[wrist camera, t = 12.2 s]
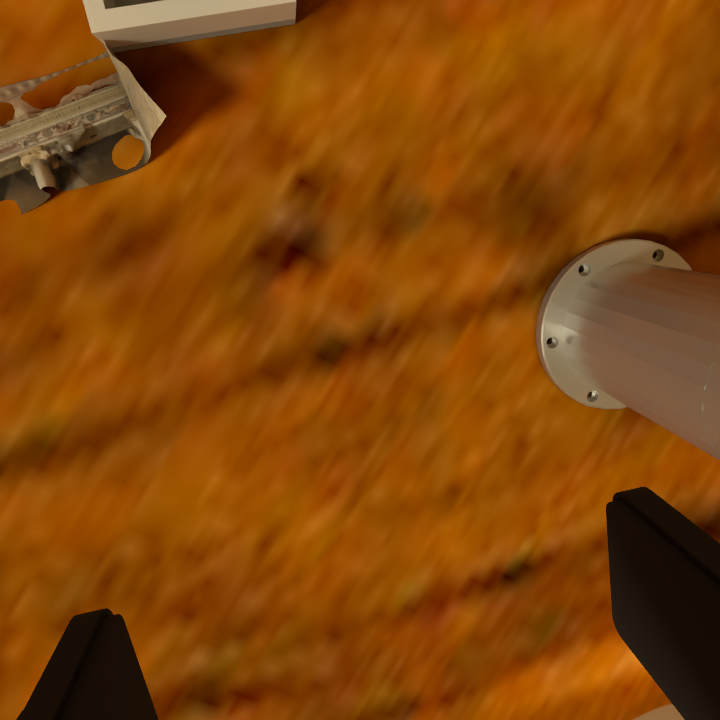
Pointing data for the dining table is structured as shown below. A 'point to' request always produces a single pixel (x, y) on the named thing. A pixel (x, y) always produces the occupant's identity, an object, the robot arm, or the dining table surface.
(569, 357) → the robot arm
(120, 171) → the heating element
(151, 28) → the cream rectangular tray
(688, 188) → the dining table surface
